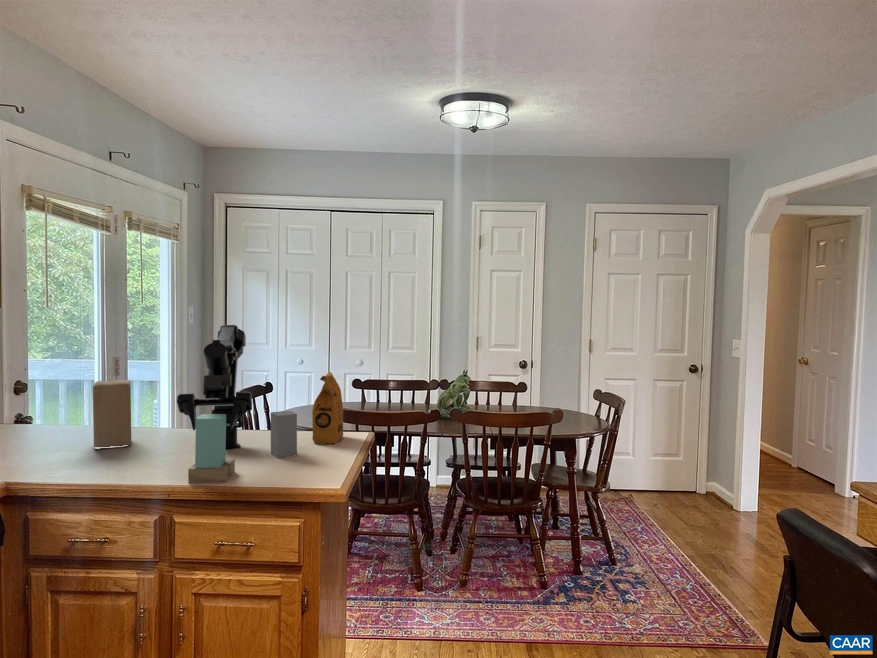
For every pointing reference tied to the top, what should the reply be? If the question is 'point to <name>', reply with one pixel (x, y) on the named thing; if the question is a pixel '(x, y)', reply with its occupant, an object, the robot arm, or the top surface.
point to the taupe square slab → (212, 473)
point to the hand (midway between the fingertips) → (212, 428)
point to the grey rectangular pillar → (283, 434)
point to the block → (112, 413)
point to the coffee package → (328, 412)
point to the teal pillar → (210, 441)
